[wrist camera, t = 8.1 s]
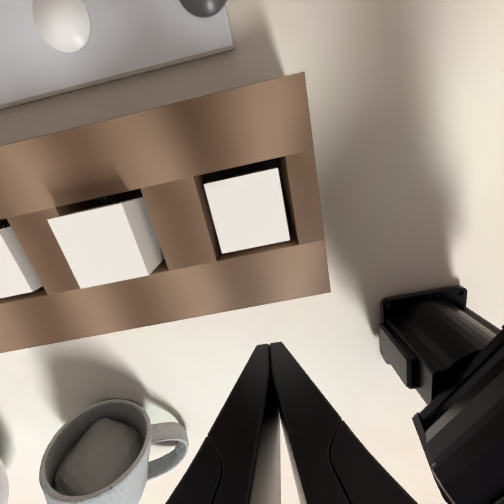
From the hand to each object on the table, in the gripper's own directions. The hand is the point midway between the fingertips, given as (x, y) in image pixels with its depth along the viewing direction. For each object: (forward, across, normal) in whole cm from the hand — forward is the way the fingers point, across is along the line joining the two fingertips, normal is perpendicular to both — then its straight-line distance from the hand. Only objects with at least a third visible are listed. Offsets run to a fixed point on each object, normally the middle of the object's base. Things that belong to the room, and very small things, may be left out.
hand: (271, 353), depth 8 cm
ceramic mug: (+12, +16, +17) cm, 26 cm away
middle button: (+9, +8, -3) cm, 12 cm away
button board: (+11, +8, -3) cm, 14 cm away
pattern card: (+11, +9, -15) cm, 21 cm away
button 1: (+10, 0, -4) cm, 11 cm away
